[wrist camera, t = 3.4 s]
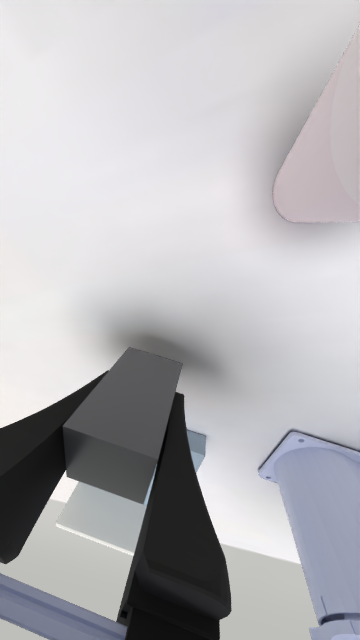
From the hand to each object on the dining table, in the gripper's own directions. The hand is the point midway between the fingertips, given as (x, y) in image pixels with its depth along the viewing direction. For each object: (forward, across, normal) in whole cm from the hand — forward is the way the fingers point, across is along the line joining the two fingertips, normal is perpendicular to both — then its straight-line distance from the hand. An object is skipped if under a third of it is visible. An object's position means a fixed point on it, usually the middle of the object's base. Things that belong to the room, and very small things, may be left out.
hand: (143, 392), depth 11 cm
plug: (+2, 0, 0) cm, 2 cm away
